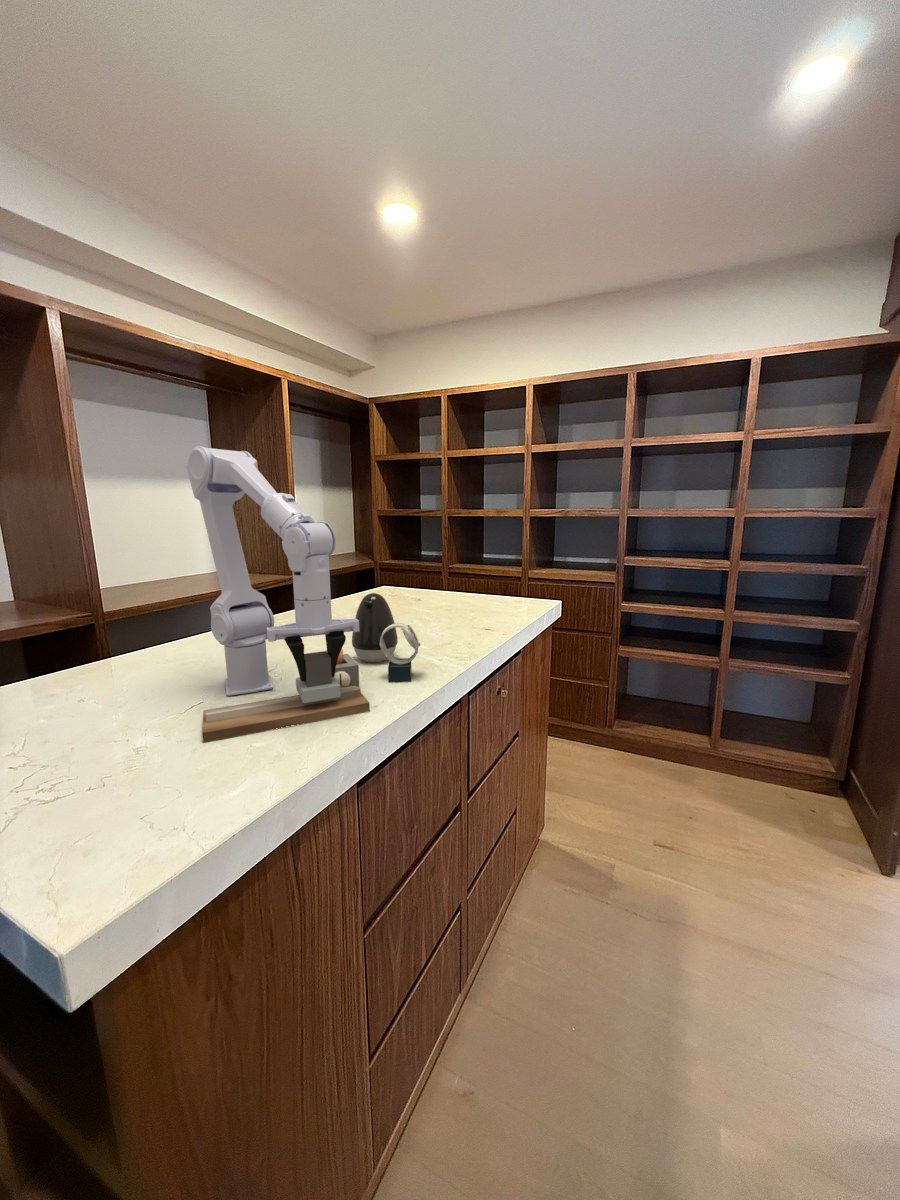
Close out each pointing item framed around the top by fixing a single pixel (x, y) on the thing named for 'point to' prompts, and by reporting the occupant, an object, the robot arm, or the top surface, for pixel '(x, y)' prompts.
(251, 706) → the rail track
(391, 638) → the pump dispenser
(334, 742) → the top surface
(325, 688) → the carriage
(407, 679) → the watch
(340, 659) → the button
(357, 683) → the gauge cabinet
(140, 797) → the top surface
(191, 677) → the top surface
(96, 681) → the top surface
